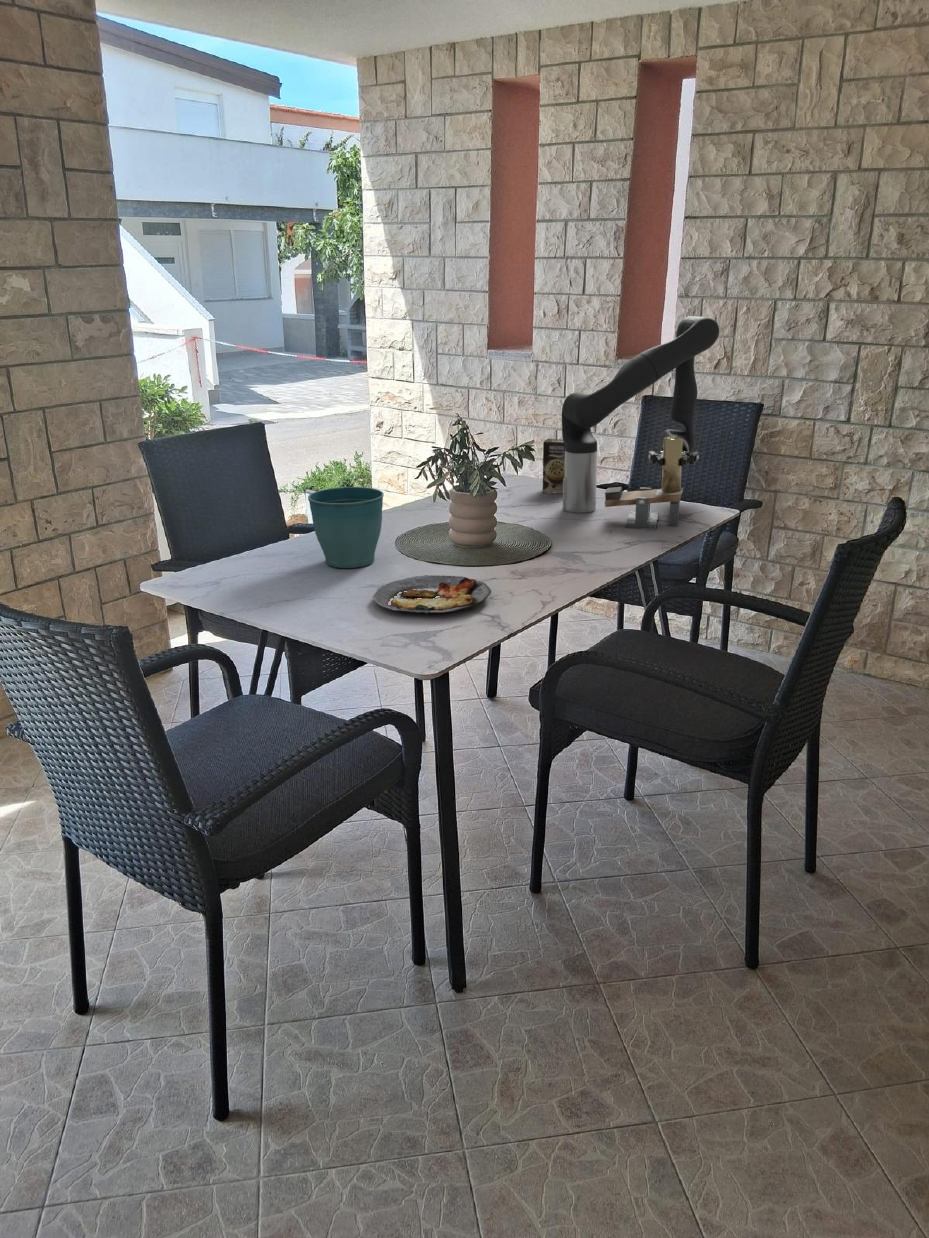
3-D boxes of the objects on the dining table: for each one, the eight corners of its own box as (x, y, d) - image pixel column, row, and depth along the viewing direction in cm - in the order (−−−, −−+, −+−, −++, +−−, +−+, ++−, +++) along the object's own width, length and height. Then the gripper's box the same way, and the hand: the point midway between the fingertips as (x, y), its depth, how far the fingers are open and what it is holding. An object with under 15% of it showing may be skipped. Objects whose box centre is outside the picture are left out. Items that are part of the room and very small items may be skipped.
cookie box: (541, 493, 294) (542, 441, 288) (546, 488, 300) (546, 438, 294) (570, 494, 291) (571, 442, 286) (574, 489, 297) (575, 439, 291)
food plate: (499, 585, 210) (499, 570, 209) (478, 623, 189) (477, 607, 188) (393, 583, 216) (392, 568, 215) (361, 619, 195) (359, 603, 194)
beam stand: (625, 527, 253) (626, 498, 250) (630, 514, 266) (631, 486, 263) (676, 530, 250) (678, 500, 247) (679, 517, 263) (681, 488, 260)
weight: (661, 492, 252) (663, 440, 247) (662, 488, 257) (664, 437, 252) (680, 492, 251) (682, 440, 246) (680, 488, 255) (683, 437, 250)
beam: (605, 507, 255) (604, 494, 254) (609, 498, 264) (608, 486, 263) (682, 500, 249) (681, 488, 248) (683, 492, 258) (682, 479, 257)
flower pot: (343, 548, 242) (338, 483, 236) (401, 556, 233) (398, 490, 227) (298, 567, 227) (292, 499, 221) (358, 577, 218) (353, 506, 212)
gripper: (649, 438, 265) (645, 448, 250) (701, 438, 262) (700, 448, 246) (648, 464, 268) (644, 475, 252) (700, 465, 264) (698, 476, 249)
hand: (672, 462), depth 249 cm, fingers closed on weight, 5 cm apart
